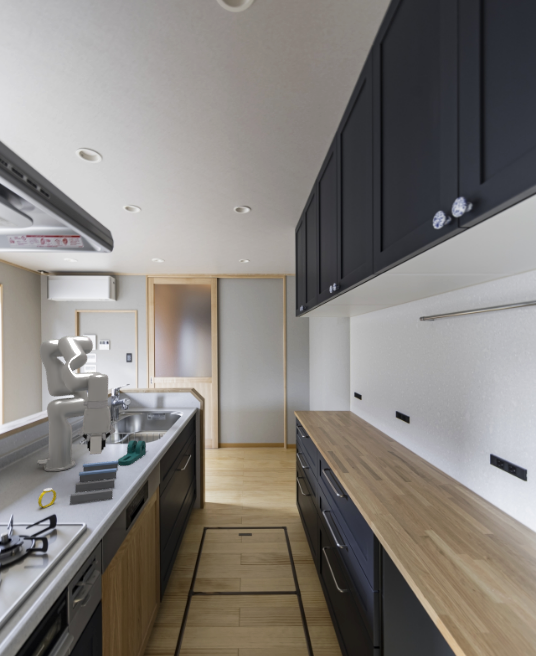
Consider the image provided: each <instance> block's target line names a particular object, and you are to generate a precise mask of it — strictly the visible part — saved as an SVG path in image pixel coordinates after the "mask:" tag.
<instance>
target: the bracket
mask: <svg viewBox="0 0 536 656" xmlns="http://www.w3.org/2000/svg"><path fill="white" fill-rule="evenodd" d="M146 454H147V444H146V441H145V440H138V441H137V440H133V439H132V440H129V442H128V443H127V447H126V454H125V455H123V456H121V457H120V458H118V459H117V461H118V466H119V465H120V466H119V467H127V466H131V465H132V464H134V463H135V461H136V462H137V461H139V460H140V459H141V458H143V457H144V456H145V455H146ZM143 455H144V456H143ZM142 456H143V457H142ZM139 458H140V459H139Z"/></svg>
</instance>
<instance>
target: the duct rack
mask: <svg viewBox="0 0 536 656" xmlns="http://www.w3.org/2000/svg"><path fill="white" fill-rule="evenodd" d="M118 467H119V465H118V460H110V461H101V462H91V463H83V464H82V468H83V469H82V470H83V471H80V472H79V474H78V476H79V482H82V483H78V482H77V483H75V485H74V493H71V494H70V496H69V499H70V500H69V505H78V504H85V503H91V502H92V503H93V502H99V501H100V500H101V501H108V500H113V498H112V497H113V494H114V493H113V492H114V491H113V489H115V484H116V482H115V480H116V479H117V471H118V469H119V468H118ZM113 478H116V479H113ZM104 479H108V480H104ZM97 480H99V481H97ZM88 481H91V482H88ZM109 488H111V489H109ZM102 489H103V490H102ZM94 490H95V491H94ZM85 491H87V492H85ZM107 499H108V500H107ZM101 501H100V502H101Z"/></svg>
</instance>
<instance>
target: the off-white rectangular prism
mask: <svg viewBox="0 0 536 656" xmlns="http://www.w3.org/2000/svg"><path fill="white" fill-rule="evenodd" d="M102 438H103V437H102V433H100V434H92V435H91V437H90V451H89V455H92V456H93V455H102V452H103V450H101V445H102Z"/></svg>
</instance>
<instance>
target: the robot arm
mask: <svg viewBox="0 0 536 656" xmlns="http://www.w3.org/2000/svg"><path fill="white" fill-rule="evenodd" d="M93 348H94V344H93V341H92V339H91V338H90V337H89V336H85V335H66V336H63V337H61V338H53V339H45V340H44V341H42V342H41V343H40V346H39V357H40V360H41V362H42V364H43V367H44V369H45V377H46V383H47V390H48V393H49V395H50V396H51V397H56V398H57V397H62V398H57V399H54V400H51V401H50V402H49V403H48V404H47V407H46V413H47V418H48V419H47V420H48V453H47V454H48V458H45V459H38V460H37V465H39V466H43V469H44V471H46V472H61V471H65V470H69V468H70V469H71V468H74V467H75V466H76V461H75V460H72V459H73V426H72V424H71V423H70V422H69V421H68V419H72V418H79V417H83V418H82V421H83V422H82V426H81V428H80V429H79V430H78V432H77V435H78V436H80V437H82V438H84V439H85V441H87V442H86V443H87V446H86V448H87V449H88V451H89V452H90V437H91V435H92V434H100V433H102V437H103V438H102V445H101V450H102V451H104V449H105V448H106V446H107V444H106V443H107V442H106V441H107V438H109V437H110V436H111V435H112V434H114V433H115V432H116V428H115V427H114V426H113V425H112V421H111V420H112V419H111V410H110V407H109V406H108V405H109V375H108V374H105V373H101V372H99V371H93V372H91V371H90V372H89V371H88V372H77V373H76V372H75V371H76V370H78V369H80V368H82V367H83V366H84V365H85V364H86V363H87V362H88V354H90V353H92V351H93ZM59 357H62V358H63V359H64V361H65V363H64V362H63V361H62V360H61V359H60V358H59ZM66 396H73V397H66ZM63 397H64V398H63Z"/></svg>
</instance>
